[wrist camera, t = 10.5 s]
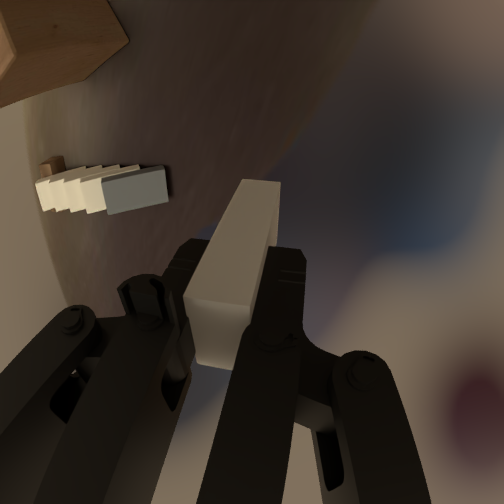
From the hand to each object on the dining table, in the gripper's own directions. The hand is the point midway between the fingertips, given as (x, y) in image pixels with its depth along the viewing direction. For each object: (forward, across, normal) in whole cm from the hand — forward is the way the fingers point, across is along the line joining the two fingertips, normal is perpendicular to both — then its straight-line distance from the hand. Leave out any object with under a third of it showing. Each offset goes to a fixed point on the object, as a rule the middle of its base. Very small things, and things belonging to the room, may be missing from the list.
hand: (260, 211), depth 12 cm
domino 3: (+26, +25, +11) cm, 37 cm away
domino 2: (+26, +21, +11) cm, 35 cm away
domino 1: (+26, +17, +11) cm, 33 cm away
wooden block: (+27, +28, -12) cm, 40 cm away
